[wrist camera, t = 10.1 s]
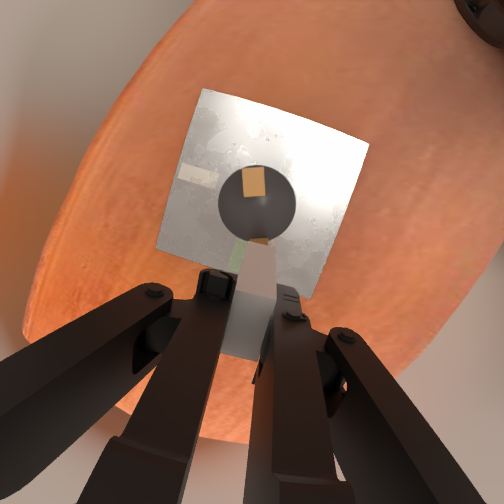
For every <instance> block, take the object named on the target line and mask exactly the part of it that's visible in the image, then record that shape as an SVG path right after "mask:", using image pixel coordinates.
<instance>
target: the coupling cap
mask: <svg viewBox="0 0 504 504" xmlns="http://www.w3.org/2000/svg"><path fill="white" fill-rule="evenodd" d="M218 210H219V214H220V217H221V220H222V222H223V223H224V225H225V226H226V228H227V229H228V230H229V231H230V232H231V233H232V234H234V235H235V236H237V237H238V238H240V239H243V240H245V241H251V242H255V243H259V244H263V245H267V246H269V243H268V241H269V240H272V239H274V238H276V237H278V236H279V235H281V234H282V233H283V232H284V231H285V230H286V229H287V228H288V227H289V226H290V224H291V222H292V220H293V218H294V215H295V211H296V197H295V193H294V190H293V188H292V186H291V184H290V182H289V181H288V180H287V179H286V177H285V176H284V175H282V174H281V173H280V172H278V171H277V170H275V169H273V168H271V167H268V166H264V165H252V166H247V167H244V168H241V169H239V170H237V171H235V172H234V173H233V174H231V175H230V176H229V177H228V178H227V180H226V181H225V182H224V184H223V186H222V188H221V190H220V193H219V197H218Z"/></svg>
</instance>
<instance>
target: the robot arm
mask: <svg viewBox="0 0 504 504" xmlns="http://www.w3.org/2000/svg"><path fill="white" fill-rule="evenodd" d="M455 3H456V5H457V7H458V9H459V11H460V13H461V14H462V16H463V17H464V19H465V20H466V22H467V23H468V24H469V25H470V27H471V28H472V29H473V30H474V31H475V32H476V33H477V34H478V35H479V36H480V37H481V38H483V39H484V40H485V41H487V42H488V43H490V44H491V45H493V46H496V47H498V48H503V49H504V0H455ZM220 353H223V354H227V355H231V356H235V357H239V358H244V359H248V360H252V361H257V362H258V358H259V355H260V359H259V363H258V366H257V369H256V372H255V375H254V378H253V381H252V384H255V390H254V400H253V410H252V421H251V431H250V441H249V451H248V461H247V470H246V479H245V489H244V498H243V504H486V503H485V502H484V500H483V499H482V497H481V496H480V495H479V493H478V491H477V490H476V489H475V487H474V486H473V484H472V483H471V481H470V480H469V479H468V477H467V476H466V474H465V473H464V472H463V470H462V469H461V467H460V466H459V465H458V463H457V462H456V461H455V459H454V458H453V456H452V455H451V454H450V452H449V451H448V450H447V448H446V447H445V445H444V444H443V443H442V442H441V440H440V439H439V437H438V436H437V434H436V433H435V432H434V431H433V429H432V428H431V427H430V425H429V424H428V422H427V421H426V420H425V419H424V417H423V416H422V414H421V413H420V412H419V411H418V409H417V408H416V407H415V405H414V404H413V403H412V401H411V400H410V399H409V397H408V396H407V395H406V393H405V392H404V391H403V389H402V388H401V387H400V386H399V384H398V383H397V382H396V380H395V379H394V378H393V376H392V375H391V374H390V373H389V371H388V370H387V369H386V367H385V366H384V365H383V364H382V362H381V361H380V360H379V359H378V357H377V356H376V355H375V353H374V352H373V351H372V350H371V348H370V347H369V346H368V345H367V343H366V342H365V341H364V340H363V338H362V337H361V336H360V335H359V334H357V333H356V332H354V331H353V330H351V329H348V328H342V327H334V328H332V329H331V330H330V332H329V334H328V335H325V334H323V333H320V332H318V331H316V330H314V329H312V328H311V324H310V320H309V318H308V316H306V315H305V314H304V313H302V310H301V304H300V299H299V293H298V292H297V291H296V290H295V288H294V287H290V286H286V285H282V284H278V283H276V248H275V247H271V246H267V245H263V244H259V243H255V242H251V241H248V244H247V247H246V251H245V254H244V257H243V261H242V264H241V268H240V271H239V275H238V274H234V273H230V272H226V271H223V270H218V269H204V270H202V271H200V274H199V279H198V284H197V290H196V294H195V295H194V297H193V299H189V300H179V299H173V292H172V290H171V289H170V288H168V287H166V286H164V285H161V284H159V283H144V284H141V285H139V286H137V287H135V288H133V289H131V290H129V291H127V292H125V293H123V294H122V295H120V296H118V297H116V298H114V299H112V300H110V301H109V302H107V303H105V304H103V305H101V306H99V307H97V308H96V309H94V310H92V311H90V312H88V313H86V314H85V315H83V316H81V317H79V318H77V319H75V320H74V321H72V322H70V323H68V324H66V325H64V326H63V327H61V328H59V329H57V330H55V331H54V332H52V333H50V334H48V335H46V336H45V337H43V338H41V339H39V340H38V341H36V342H34V343H32V344H30V345H29V346H27V347H25V348H23V349H22V350H20V351H18V352H16V353H14V354H13V355H11V356H9V357H7V358H6V359H4V360H3V361H1V362H0V500H2V499H5V498H6V497H8V496H10V495H12V494H13V493H15V492H17V491H19V490H20V489H22V488H23V487H24V486H25V485H27V484H28V483H29V482H31V481H32V480H33V479H34V478H35V477H36V476H37V475H39V473H41V472H42V471H43V470H44V469H45V468H46V467H47V466H49V465H50V464H51V463H52V462H53V461H54V460H55V459H56V458H57V457H59V456H60V455H61V454H62V453H63V452H64V451H65V450H66V449H67V448H68V447H69V446H70V445H72V444H73V443H74V442H75V441H76V440H77V439H78V438H79V437H80V436H82V435H83V434H84V433H85V432H86V431H87V430H88V429H89V428H90V427H91V426H92V425H94V424H95V423H96V422H97V421H98V420H99V419H100V418H101V417H102V416H103V415H104V414H105V413H107V412H108V411H109V409H111V408H112V407H113V406H114V405H115V404H116V403H117V402H118V401H119V400H120V399H122V398H123V397H124V396H125V395H126V394H127V393H128V392H129V391H130V390H131V389H132V388H133V387H134V386H135V385H137V384H138V383H139V382H140V381H141V380H142V379H143V378H144V377H145V376H146V375H147V374H148V373H149V372H150V371H151V370H152V369H154V368H155V367H156V366H157V367H156V369H155V371H154V372H153V374H152V376H151V378H150V380H149V382H148V384H147V386H146V388H145V390H144V392H143V394H142V396H141V398H140V400H139V402H138V404H137V406H136V408H135V410H134V412H133V413H132V415H131V417H130V419H129V422H128V423H127V426H126V427H125V429H124V431H123V433H122V435H121V436H120V437H117V436H113V437H112V438H110V440H109V442H108V443H107V445H106V447H105V448H104V450H103V452H102V454H101V456H100V458H99V460H98V462H97V464H96V465H95V468H94V469H93V471H92V473H91V475H90V477H89V479H88V482H87V483H86V485H85V487H84V489H83V491H82V493H81V495H80V497H79V499H78V501H77V503H76V504H181V502H182V498H183V494H184V490H185V486H186V482H187V478H188V474H189V471H190V467H191V463H192V459H193V455H194V451H195V447H196V443H197V439H198V436H199V432H200V428H201V424H202V420H203V416H204V412H205V409H206V405H207V401H208V397H209V393H210V389H211V386H212V382H213V378H214V374H215V370H216V366H217V363H218V359H219V354H220ZM345 382H347V391H345V389H344V387H343V385H344V384H345ZM333 453H334V455H335V457H336V459H337V462H338V464H339V466H340V468H341V471H342V473H343V475H344V477H345V479H346V481H339V479H338V478H337V474H336V468H335V461H334V455H333Z"/></svg>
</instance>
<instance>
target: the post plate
mask: <svg viewBox="0 0 504 504" xmlns="http://www.w3.org/2000/svg"><path fill="white" fill-rule="evenodd" d="M368 146H369V144H368V143H365V142H363V141H361V140H358V139H356V138H354V137H351V136H349V135H346V134H344V133H342V132H339V131H337V130H334V129H332V128H329V127H326V126H324V125H321V124H318V123H316V122H313V121H310V120H308V119H305V118H302V117H299V116H296V115H293V114H291V113H288V112H285V111H282V110H279V109H275V108H272V107H269V106H266V105H263V104H260V103H256V102H253V101H249V100H246V99H243V98H239V97H235V96H232V95H228V94H224V93H221V92H217V91H213V90H209V89H205V88H203V89H202V92H201V95H200V97H199V100H198V103H197V106H196V109H195V112H194V115H193V118H192V121H191V124H190V127H189V130H188V133H187V136H186V139H185V143H184V146H183V149H182V152H181V155H180V159H179V162H178V165H177V169H176V172H175V176H174V179H173V183H172V186H171V190H170V194H169V197H168V201H167V205H166V208H165V212H164V216H163V220H162V224H161V228H160V232H159V236H158V240H157V245H156V249H158V250H161V251H164V252H167V253H170V254H173V255H176V256H178V257H181V258H184V259H187V260H190V261H193V262H196V263H199V264H202V265H205V266H208V267H211V268H214V269H218V270H223V271H226V272H230V273H234V274H238V275H239V271H240V268H241V264H242V261H243V257H244V254H245V251H246V247H247V244H248V241H245V240H243V239H240V238H238V237H237V236H235V235H234V234H232V233H231V232H230V231H229V230H228V229H227V228H226V226H225V225H224V223H223V222H222V220H221V217H220V214H219V210H218V197H219V193H220V190H221V188H222V186H223V184H224V182H225V181H226V180H227V178H228V177H229V176H230V175H231V174H233V173H234V172H235V171H237V170H239V169H241V168H244V167H247V166H252V165H264V166H268V167H271V168H273V169H275V170H277V171H278V172H280V173H281V174H282V175H284V176H285V177H286V179H287V180H288V181H289V182H290V184H291V186H292V188H293V190H294V193H295V197H296V211H295V215H294V218H293V220H292V222H291V224H290V226H289V227H288V228H287V229H286V230H285V231H284V232H283V233H282V234H281V235H279V236H278V237H276V238H274V239H272V240H269V241H268V243H269V246H271V247H275V248H276V283H278V284H282V285H286V286H290V287H294V288H295V290H296V291H297V292H298V293H299V296H302V297H305V298H308V299H310V298H311V296H312V294H313V291H314V289H315V287H316V284H317V282H318V280H319V277H320V275H321V272H322V270H323V267H324V265H325V263H326V260H327V258H328V255H329V253H330V250H331V248H332V245H333V243H334V240H335V237H336V235H337V232H338V230H339V227H340V224H341V222H342V219H343V217H344V214H345V211H346V208H347V206H348V203H349V200H350V198H351V195H352V192H353V189H354V186H355V184H356V181H357V178H358V175H359V172H360V169H361V166H362V164H363V161H364V158H365V155H366V152H367V149H368Z"/></svg>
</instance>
